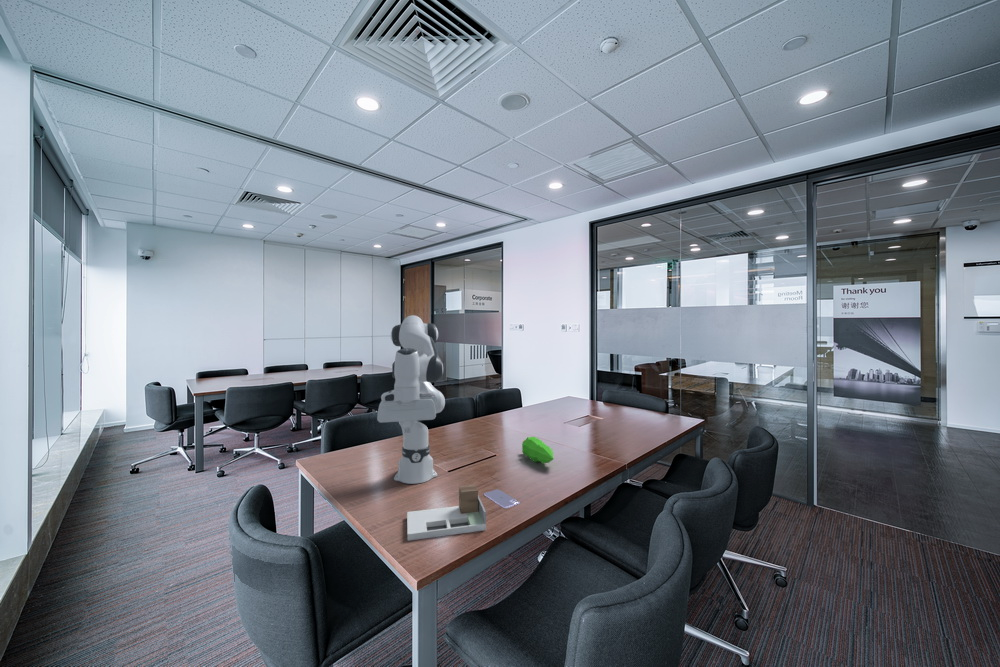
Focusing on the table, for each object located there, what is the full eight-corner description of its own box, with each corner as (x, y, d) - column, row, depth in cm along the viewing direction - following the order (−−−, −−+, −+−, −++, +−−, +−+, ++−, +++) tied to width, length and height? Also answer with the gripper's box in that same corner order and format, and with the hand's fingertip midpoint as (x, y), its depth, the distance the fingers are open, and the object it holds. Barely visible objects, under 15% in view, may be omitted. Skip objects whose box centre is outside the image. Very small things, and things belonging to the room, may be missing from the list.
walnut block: (459, 507, 133) (459, 486, 133) (475, 505, 135) (475, 484, 135) (461, 513, 128) (461, 492, 128) (478, 511, 130) (478, 490, 130)
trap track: (407, 517, 130) (407, 500, 130) (477, 509, 136) (477, 492, 136) (407, 540, 115) (407, 521, 115) (486, 530, 121) (485, 511, 121)
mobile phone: (498, 488, 153) (520, 501, 141) (498, 490, 153) (520, 504, 141) (482, 492, 149) (504, 507, 136) (482, 495, 149) (504, 509, 136)
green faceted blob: (530, 429, 202) (558, 442, 174) (538, 448, 203) (567, 464, 175) (513, 439, 198) (539, 454, 170) (520, 458, 199) (547, 476, 171)
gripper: (435, 391, 137) (436, 429, 137) (378, 394, 132) (378, 432, 132) (437, 394, 131) (437, 433, 131) (376, 397, 126) (376, 437, 126)
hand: (407, 433), depth 132 cm, fingers closed
